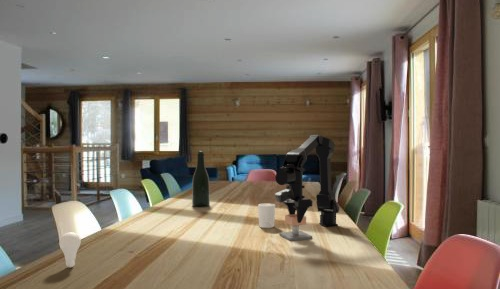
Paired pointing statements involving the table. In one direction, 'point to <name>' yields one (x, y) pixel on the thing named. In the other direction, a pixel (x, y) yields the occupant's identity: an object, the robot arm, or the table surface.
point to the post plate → (297, 237)
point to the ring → (294, 220)
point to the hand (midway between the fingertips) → (295, 221)
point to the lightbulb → (70, 247)
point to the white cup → (266, 215)
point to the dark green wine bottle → (200, 184)
